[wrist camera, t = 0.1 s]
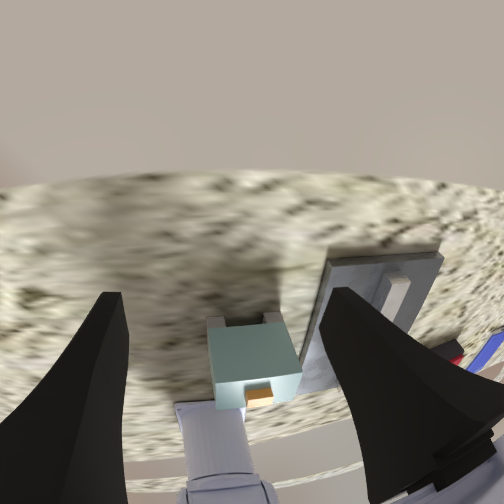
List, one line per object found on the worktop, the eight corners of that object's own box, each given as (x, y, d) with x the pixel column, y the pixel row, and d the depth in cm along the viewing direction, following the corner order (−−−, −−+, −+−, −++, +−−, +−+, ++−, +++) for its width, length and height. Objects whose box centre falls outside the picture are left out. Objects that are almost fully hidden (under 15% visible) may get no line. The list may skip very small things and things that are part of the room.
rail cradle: (378, 369, 36) (386, 385, 34) (289, 389, 33) (295, 407, 31) (438, 251, 26) (453, 267, 24) (327, 258, 23) (340, 279, 21)
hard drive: (481, 369, 49) (513, 327, 42) (459, 380, 47) (494, 336, 40) (477, 364, 50) (509, 322, 43) (455, 374, 48) (489, 330, 41)
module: (274, 342, 28) (295, 408, 22) (207, 349, 26) (217, 419, 21) (280, 311, 25) (306, 381, 20) (206, 317, 24) (217, 393, 18)
